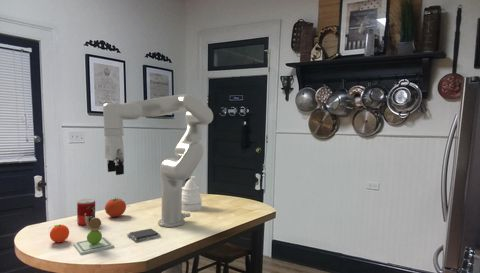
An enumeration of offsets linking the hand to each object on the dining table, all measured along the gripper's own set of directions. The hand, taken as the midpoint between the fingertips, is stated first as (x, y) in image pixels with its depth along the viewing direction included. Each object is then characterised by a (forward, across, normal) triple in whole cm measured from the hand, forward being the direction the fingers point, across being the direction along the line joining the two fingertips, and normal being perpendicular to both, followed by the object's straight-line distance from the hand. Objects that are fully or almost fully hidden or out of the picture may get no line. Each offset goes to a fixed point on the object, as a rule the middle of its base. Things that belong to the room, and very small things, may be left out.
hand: (115, 173), depth 138 cm
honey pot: (+30, -22, +49) cm, 61 cm away
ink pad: (+28, +8, +8) cm, 30 cm away
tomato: (+28, -29, +9) cm, 41 cm away
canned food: (+27, -26, -6) cm, 38 cm away
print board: (+27, +6, -12) cm, 30 cm away
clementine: (+26, -7, -22) cm, 35 cm away
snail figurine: (+26, +6, -12) cm, 29 cm away
